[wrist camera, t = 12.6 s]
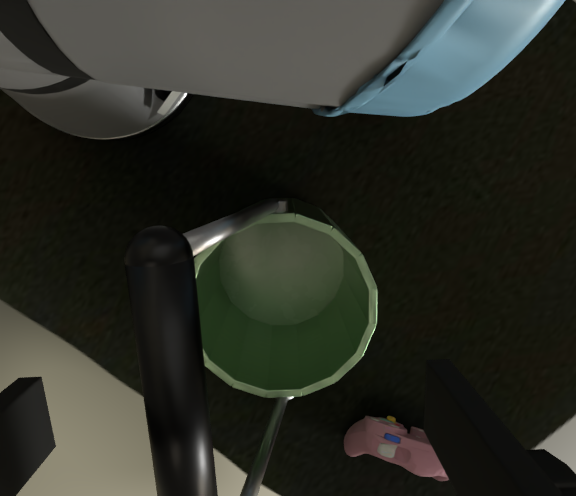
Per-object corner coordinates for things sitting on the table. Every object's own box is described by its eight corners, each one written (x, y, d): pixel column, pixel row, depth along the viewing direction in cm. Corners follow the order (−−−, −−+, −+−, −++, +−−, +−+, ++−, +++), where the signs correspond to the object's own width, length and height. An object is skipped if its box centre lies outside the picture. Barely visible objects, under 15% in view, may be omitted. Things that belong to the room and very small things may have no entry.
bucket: (221, 343, 32) (99, 681, 11) (207, 185, 29) (7, 237, 8) (349, 337, 32) (470, 666, 11) (347, 179, 29) (508, 216, 8)
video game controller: (445, 425, 36) (494, 445, 29) (437, 476, 35) (486, 510, 28) (348, 397, 35) (375, 412, 29) (336, 449, 34) (362, 477, 27)
